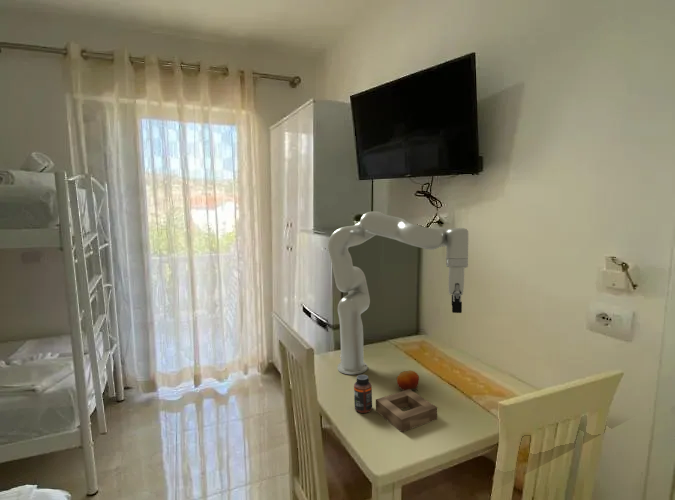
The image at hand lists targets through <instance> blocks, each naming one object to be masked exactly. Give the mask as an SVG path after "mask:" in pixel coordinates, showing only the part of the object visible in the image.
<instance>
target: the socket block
mask: <svg viewBox="0 0 675 500" xmlns="http://www.w3.org/2000/svg"><path fill="white" fill-rule="evenodd" d="M404 408H409V409H408V410H405V411H404V410H402V409H404ZM375 412H377V414H379V415H380V416H382V418H384V420H386V421H387V420H388V421H387V422H388V423H390V424H391V425H392V426H393V427H394V428H396V429H397V430H398V431H399V432H401V433H402V432H406V431H409V430H411V429H414V428H417V427H420V426H422V425H426V424H428V423H430V422H434V421H437V420H438V407H437V405H434V404H433V403H431V402H430V401H429V400H426V399H425V398H424V397H422V396H421V395H419V394H418V393H417V392H415V391H414V390H410V389H408V390H405V391H403V390H401V391H399V392H395V393H392V394H389V395H385V396H383V397H380V398H376V399H375Z"/></svg>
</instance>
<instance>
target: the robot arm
mask: <svg viewBox="0 0 675 500" xmlns="http://www.w3.org/2000/svg"><path fill="white" fill-rule="evenodd" d="M375 236H379V237H383V238H388V239H391V240H396V241H397V242H399V243H404V244H406V245H409V246H412V247H417V248H421V249H425V250H433V251H434V250H437V249H439V248H441V247H442V248H443V247H445V250H446V251H445V253H446V254H445V262H446V263H445V267H446V268H448V294H449V295H450V296H451V312H452V313H453V314H454V313H455V314H462V313H463V312H462V311H463V303H462V296H463V295H464V289H465V287H464V286H465V268H468V267H469V230H468V229H467V228H464V227H451V228H446V227H440V226H439V227H438V226H436V227H425V226H421V225H417V224H414V223H411V222H408V221H407V220H406V219H405V218H403V217H402V218H401V217H398V216H394V215H393V216H392V215H388V214H385V213H384V212H382V211H377V210H376V211H367V212H365V213H364V214H362V216H361V217H360V220H359V222H357V223H356V224H354V225H347V226H342V227H339V228H338V229H336V230H334V232H332V234H331V235H330V237H329V239H328V243H327V244H328V245H327V246H328V247H327V248H328V253H329V257H330V261H331V267H332V271H333V277H334V281H335V282H334V283H335V285H336V289H338V291H340V292H341V293H348V294H347V295H345V296H343V297H342V298H341V299H340V300H339V302H338V304H337V314H338V320H339V332H340V333H339V336H340V355H339V358H340V362H339V363H338V364H337V370H338V372H339V373H342V374H346V375H351V376H353V375H361V374H363V373H365V372H366V371H367V370H368V364H367V363H366V362H365V361H364V360H365V359H364V326H363V320H362V316H361V315H362V314H363V313H365V311H367V310H368V309H369V307H370V303H371V298H370V293H369V292H370V291H369V288H368V284H367V279H366V275H365V273H364V271H363V270H362V268H360V267H358V266H354V263H353V258H352V255H351V253H350V251H349V248H350V247H356V246H359V245H361V244H363V243H365V242H366V241H369V240H370V239H372V238H373V237H375Z"/></svg>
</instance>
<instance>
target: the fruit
mask: <svg viewBox="0 0 675 500" xmlns="http://www.w3.org/2000/svg"><path fill="white" fill-rule="evenodd" d="M396 377H397V378H396V382H397V383H396V384H397V386H398V389H400V390H401V391H405V390H408V389H410V390H411V391H418V389H417V388H418V386H419V381H420V377H419V374H418V373H417V372H415V371H414V370H404V371H402V372H400V373H399V374H398V376H396ZM418 392H419V391H418Z"/></svg>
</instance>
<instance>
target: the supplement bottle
mask: <svg viewBox="0 0 675 500" xmlns="http://www.w3.org/2000/svg"><path fill="white" fill-rule="evenodd" d="M369 380H370V379H369V376H368V375H366V374H357V376H356V381H355V382H354V385H353V393H354V394H353V395H354V396H353V397H354V411H356V412H357V411H358V413H361V414H366V413H369V412H371V411H372V410H373V391H372V390H373V389H372V388H373V387H372V383H371V382H370V381H369Z"/></svg>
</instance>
